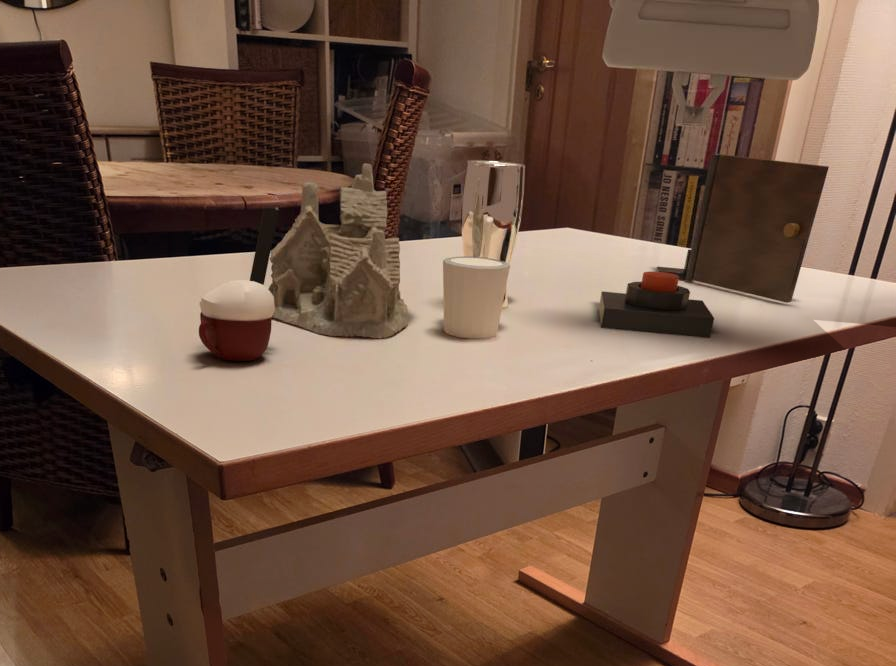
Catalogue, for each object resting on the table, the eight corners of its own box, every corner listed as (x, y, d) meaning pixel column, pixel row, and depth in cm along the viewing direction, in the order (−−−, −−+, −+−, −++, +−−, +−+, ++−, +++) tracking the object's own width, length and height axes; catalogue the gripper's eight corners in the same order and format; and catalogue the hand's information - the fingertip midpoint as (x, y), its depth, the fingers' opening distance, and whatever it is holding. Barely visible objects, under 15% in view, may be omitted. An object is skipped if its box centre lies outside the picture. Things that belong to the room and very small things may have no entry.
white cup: (428, 325, 93) (432, 255, 89) (485, 323, 95) (492, 255, 91) (453, 341, 87) (459, 267, 84) (513, 339, 90) (522, 267, 86)
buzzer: (698, 319, 104) (706, 284, 102) (709, 338, 96) (718, 300, 93) (598, 310, 105) (604, 275, 103) (600, 328, 97) (607, 290, 95)
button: (673, 289, 100) (677, 273, 99) (677, 296, 96) (681, 279, 96) (639, 286, 100) (642, 270, 99) (641, 292, 97) (644, 276, 96)
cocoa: (208, 371, 73) (198, 215, 67) (179, 353, 78) (166, 205, 71) (306, 359, 78) (304, 214, 72) (273, 343, 83) (269, 204, 76)
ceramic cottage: (273, 296, 100) (272, 148, 91) (414, 313, 99) (427, 166, 90) (238, 336, 87) (233, 169, 78) (399, 356, 87) (412, 191, 78)
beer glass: (497, 298, 108) (512, 161, 100) (520, 310, 102) (537, 166, 94) (445, 298, 106) (456, 158, 98) (466, 310, 100) (478, 164, 92)
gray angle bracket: (690, 276, 130) (697, 248, 128) (694, 281, 127) (700, 251, 125) (655, 273, 131) (661, 244, 129) (657, 278, 128) (663, 248, 125)
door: (792, 302, 115) (830, 166, 107) (781, 303, 114) (819, 166, 105) (689, 277, 127) (716, 153, 118) (678, 278, 126) (704, 153, 117)
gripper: (615, -53, 81) (590, 119, 88) (841, -40, 79) (795, 135, 86) (612, -44, 86) (588, 118, 93) (824, -31, 84) (782, 133, 91)
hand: (689, 126), depth 90 cm, fingers closed
